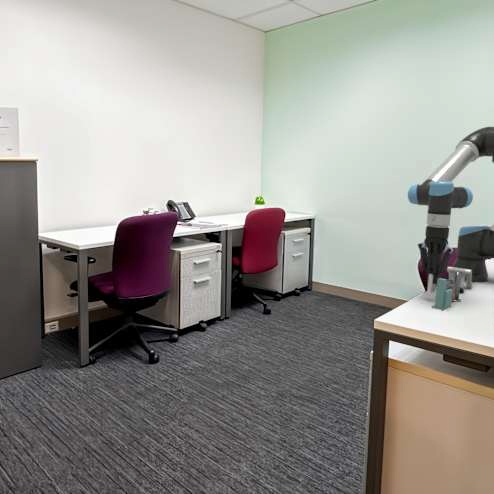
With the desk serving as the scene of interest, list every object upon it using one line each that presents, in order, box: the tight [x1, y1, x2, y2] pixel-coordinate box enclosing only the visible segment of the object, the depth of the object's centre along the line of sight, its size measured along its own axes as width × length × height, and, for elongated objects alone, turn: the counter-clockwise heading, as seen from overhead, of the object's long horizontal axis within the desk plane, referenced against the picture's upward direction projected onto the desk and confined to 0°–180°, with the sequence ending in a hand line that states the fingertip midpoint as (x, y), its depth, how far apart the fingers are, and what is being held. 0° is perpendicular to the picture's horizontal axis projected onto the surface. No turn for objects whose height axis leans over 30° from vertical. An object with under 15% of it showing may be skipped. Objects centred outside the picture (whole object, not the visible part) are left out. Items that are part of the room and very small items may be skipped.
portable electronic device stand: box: [446, 265, 474, 289], centre depth 189 cm, size 9×8×8 cm
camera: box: [447, 279, 465, 294], centre depth 184 cm, size 5×10×4 cm, turn 18°
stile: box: [431, 277, 453, 311], centre depth 160 cm, size 6×4×10 cm, turn 137°
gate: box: [446, 283, 457, 302], centre depth 164 cm, size 11×2×6 cm, turn 136°
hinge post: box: [452, 271, 462, 303], centre depth 169 cm, size 4×4×10 cm
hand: (431, 291), depth 168 cm, fingers closed
